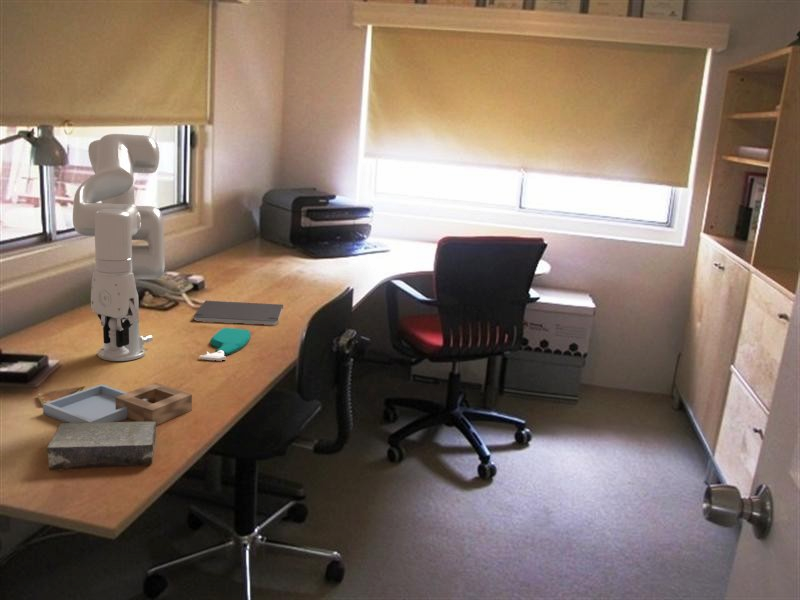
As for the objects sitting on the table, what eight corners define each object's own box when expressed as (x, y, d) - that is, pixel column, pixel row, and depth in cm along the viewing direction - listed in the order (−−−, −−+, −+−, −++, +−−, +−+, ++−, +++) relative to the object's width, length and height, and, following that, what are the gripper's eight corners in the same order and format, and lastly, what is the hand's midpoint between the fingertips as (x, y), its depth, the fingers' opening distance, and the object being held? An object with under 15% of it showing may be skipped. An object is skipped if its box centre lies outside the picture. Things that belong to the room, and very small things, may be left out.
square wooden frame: (155, 397, 176) (155, 382, 175) (191, 410, 171) (191, 394, 170) (115, 413, 166) (115, 397, 165) (152, 426, 161) (152, 410, 160)
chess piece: (129, 350, 167) (127, 313, 165) (129, 357, 162) (128, 320, 160) (104, 351, 165) (102, 314, 163) (104, 359, 160) (102, 321, 158)
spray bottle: (253, 338, 228) (231, 365, 204) (219, 335, 228) (194, 362, 205) (253, 329, 227) (231, 355, 203) (219, 326, 227) (194, 352, 204)
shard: (85, 391, 178) (85, 384, 178) (92, 402, 172) (92, 395, 172) (37, 398, 172) (36, 391, 172) (43, 410, 166) (42, 403, 166)
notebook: (283, 310, 263) (205, 306, 260) (283, 304, 262) (205, 300, 260) (277, 327, 242) (192, 323, 240) (277, 320, 241) (192, 316, 239)
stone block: (153, 466, 144) (152, 443, 143) (46, 472, 139) (45, 448, 138) (158, 437, 157) (157, 416, 156) (60, 441, 152) (59, 419, 151)
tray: (102, 393, 177) (102, 383, 176) (148, 409, 169) (148, 399, 169) (43, 414, 163) (42, 403, 162) (90, 432, 156) (90, 422, 155)
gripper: (73, 262, 159) (77, 340, 163) (127, 274, 152) (129, 356, 156) (101, 257, 165) (104, 332, 170) (154, 268, 158) (155, 347, 163)
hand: (116, 343), depth 163 cm, fingers closed on chess piece, 3 cm apart
